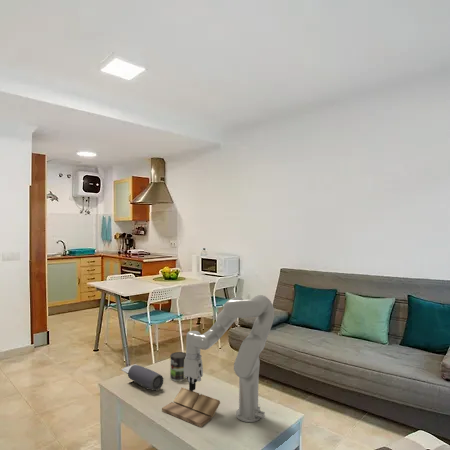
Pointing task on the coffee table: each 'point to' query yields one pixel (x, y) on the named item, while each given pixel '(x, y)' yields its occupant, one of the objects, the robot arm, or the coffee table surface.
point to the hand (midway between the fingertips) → (192, 389)
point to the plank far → (186, 398)
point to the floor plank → (186, 414)
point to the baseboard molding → (127, 368)
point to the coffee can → (177, 366)
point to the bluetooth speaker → (145, 377)
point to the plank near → (206, 405)
